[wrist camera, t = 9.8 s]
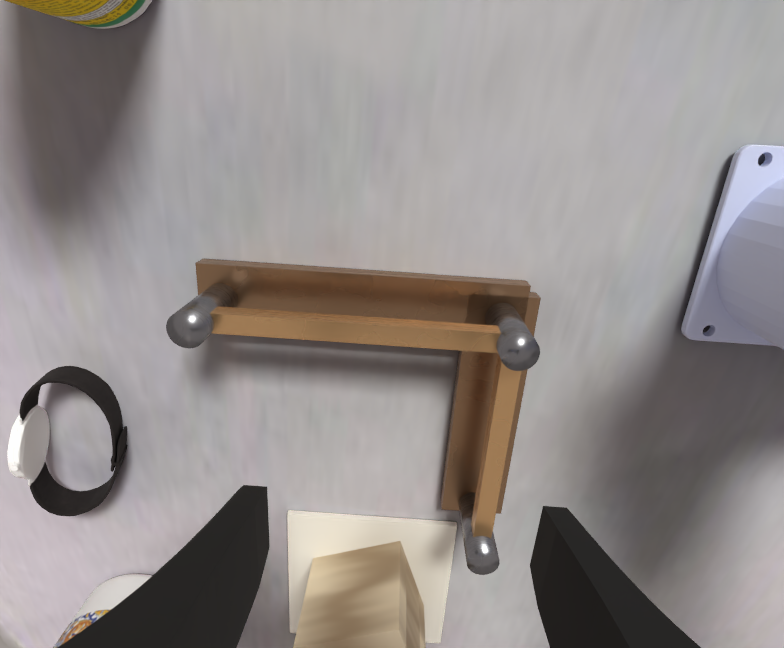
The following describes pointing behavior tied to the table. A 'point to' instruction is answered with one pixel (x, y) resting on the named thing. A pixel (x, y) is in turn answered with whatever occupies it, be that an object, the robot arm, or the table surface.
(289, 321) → the wooden rail
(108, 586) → the bath foam
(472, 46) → the table surface
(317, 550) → the coaster
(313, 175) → the table surface
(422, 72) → the table surface
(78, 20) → the supplement bottle
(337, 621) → the hollow wooden cube
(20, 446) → the watch
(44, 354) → the table surface
